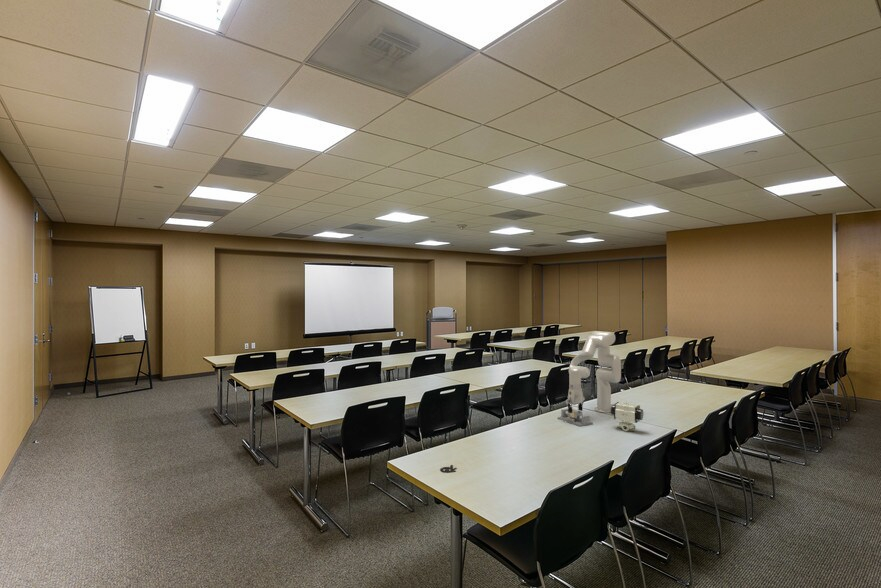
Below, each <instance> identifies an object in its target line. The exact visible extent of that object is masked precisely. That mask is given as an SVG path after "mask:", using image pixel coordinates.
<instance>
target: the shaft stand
mask: <svg viewBox="0 0 881 588" xmlns="http://www.w3.org/2000/svg"><path fill="white" fill-rule="evenodd" d="M560 415H561V416H558V417H557V420H559V421H562V420H563V422H565V421H566V422H565V423H569V424H572V425H575V426H577V427H579V428H580V427H584V426H585V427H586V426H589V425H594V423H593V422H592V421H590V415H588V414H585V415H582V416H580V417H579V418H580V419H582V421H579V422H576V421H575V419H572V418H569V417H568V408H561V411H560Z"/></svg>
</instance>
